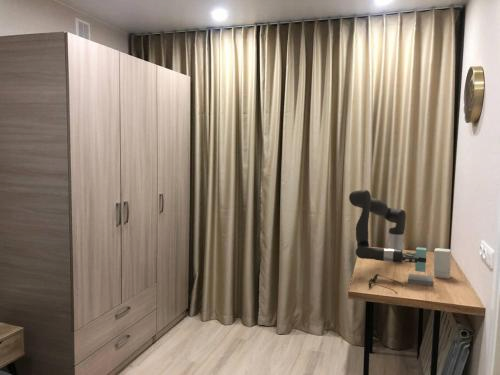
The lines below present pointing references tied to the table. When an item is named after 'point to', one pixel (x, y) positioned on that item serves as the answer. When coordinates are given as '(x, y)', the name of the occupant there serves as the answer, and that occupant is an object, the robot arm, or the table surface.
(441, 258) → the skincare box
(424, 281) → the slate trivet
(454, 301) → the table surface
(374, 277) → the sunglasses
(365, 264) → the table surface
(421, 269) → the teal block
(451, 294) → the table surface
